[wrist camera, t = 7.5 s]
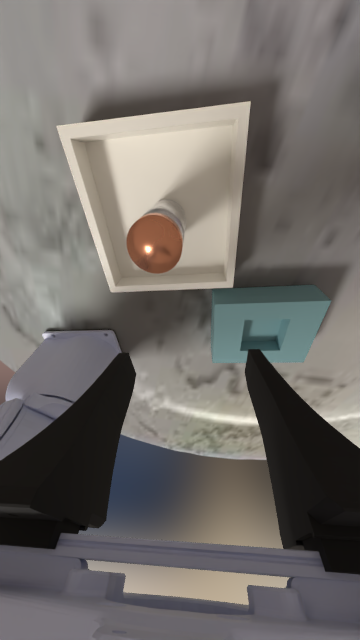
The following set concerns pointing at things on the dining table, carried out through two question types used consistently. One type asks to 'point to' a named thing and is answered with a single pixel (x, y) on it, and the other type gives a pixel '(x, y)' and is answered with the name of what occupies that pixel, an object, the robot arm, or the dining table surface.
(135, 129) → the tray
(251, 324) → the teal socket block
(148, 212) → the copper-capped cylinder
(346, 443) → the robot arm
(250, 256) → the dining table surface
